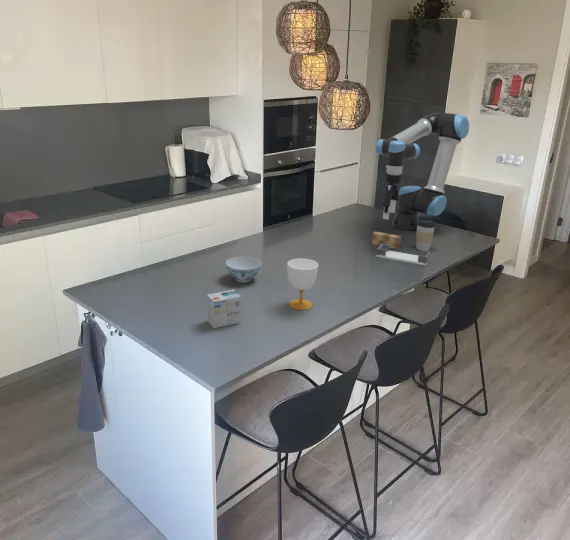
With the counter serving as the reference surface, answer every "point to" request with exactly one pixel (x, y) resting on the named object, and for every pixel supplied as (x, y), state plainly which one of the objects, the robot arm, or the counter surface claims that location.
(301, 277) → the cup
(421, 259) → the holder
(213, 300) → the light bulb box
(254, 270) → the chinaware
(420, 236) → the coffee cup
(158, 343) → the counter surface
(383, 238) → the tan rectangular block
